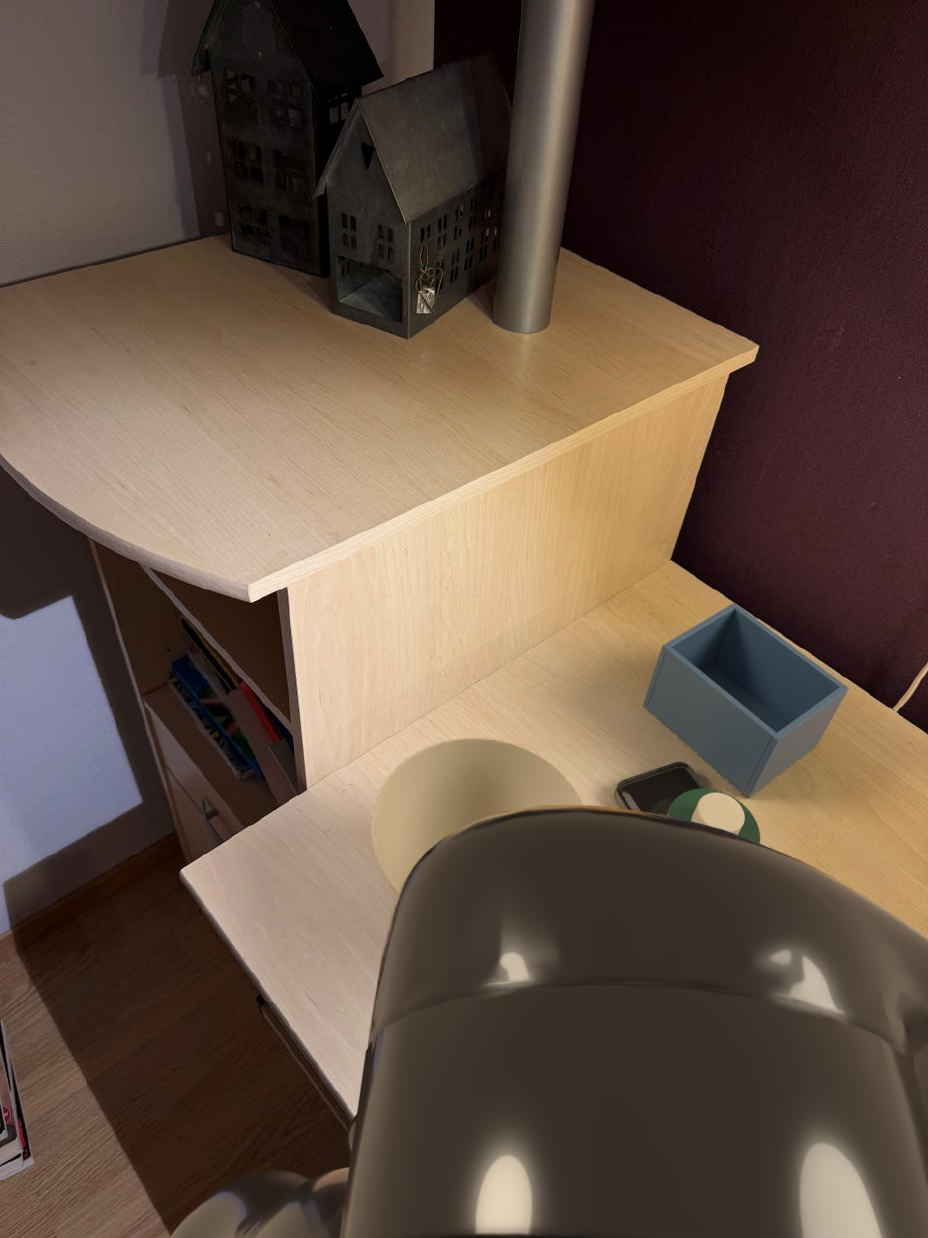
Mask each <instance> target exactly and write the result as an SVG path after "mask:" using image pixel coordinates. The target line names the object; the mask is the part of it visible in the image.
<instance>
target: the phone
mask: <svg viewBox="0 0 928 1238" xmlns="http://www.w3.org/2000/svg"><path fill="white" fill-rule="evenodd" d="M694 789H708V788H707V786H706V785H705V783H704V782H703V781H702V779H701V778H700V776H699V775H698V774H697V773H696V771H695V769H694V768H693V767H692V766H691V765H690V764H688V763H686V762H683V761H675V762H671V763H669V764H666V765H663V766H660V767H657V768H654V769H651V770H649V771H645V772H642V773H639V774H637V775H633V776H631V777H630V776H629V777H628V778H627V777H626V778H624V779H622V780H620V781H619V782H618V783H617V786H616V789H615V792H614V799H615V802H616V803H617V805H618V807H619V808H620V809H627V810H634V811H642V812H649V811H650V810H651V809H652V808H653V807H654V806H655V805H656V804H657V803H658V802H659V801H661V800H663V799H666V798H668V799H669V800H670V801H672V802H673V801H674V800H675V799H676V798H677V797H678V796H680V795H681V794H683V793H685V792H687V791H690V790H694Z"/></svg>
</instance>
